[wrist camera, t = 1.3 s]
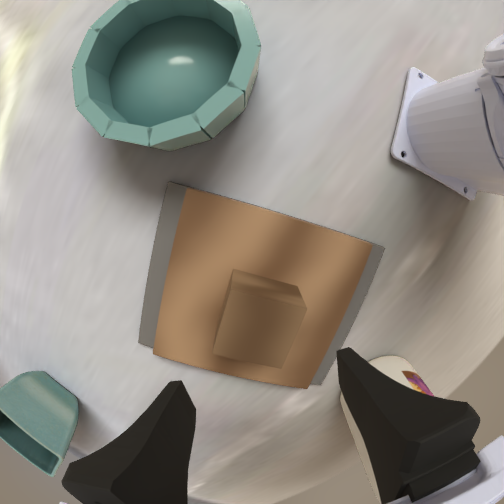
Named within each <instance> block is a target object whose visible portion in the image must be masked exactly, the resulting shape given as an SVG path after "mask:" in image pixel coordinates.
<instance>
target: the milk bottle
mask: <svg viewBox="0 0 504 504" xmlns="http://www.w3.org/2000/svg"><path fill="white" fill-rule="evenodd" d="M368 363H370V364H371V365H372V366H374V367H375V368H376V369H378V370H379V371H381V372H382V373H384V374H385V375H387V376H388V377H390V378H392V379H393V380H395V381H397V382H399V383H401V384H403V385H405V386H407V387H409V388H411V389H414V390H416V391H419V392H422V393H425V394H427V395H431V396H434V395H433V394H432V393H431V391H430V390H429V388H428V387H427V386H426V384H425V383H424V382H423V380H422V379H421V378H420V376H419V375H418V374H417V372H416V371H415V370H414V368H413V367H412V366H411V365H410V363H409V362H408V361H407V360H405V359H403V358H401V357H398V356H392V355H389V356H382V357H378V358H375V359H373V360H370V361H368ZM340 402H341V405H342V408H343V412H344V414H345V417H346V420H347V422H348V425H349V428H350V431H351V433H352V436H353V439H354V442H355V444H356V447H357V450H358V453H359V455H360V458H361V461H362V463H363V466H364V469H365V471H366V474H367V477H368V480H369V482H370V484H371V487H372V489H373V492H374V494H375V496H376V498H377V500H378V502H379V503H380V504H381V499H380V495H379V491H378V487H377V483H376V479H375V476H374V472H373V469H372V465H371V462H370V459H369V455H368V452H367V449H366V446H365V443H364V440H363V438H362V436H361V433H360V431H359V429H358V427H357V425H356V423H355V421H354V419H353V417H352V415H351V412H350V410H349V408H348V406H347V404H346V402H345V400H344V397H343V394H342V391H341V396H340Z"/></svg>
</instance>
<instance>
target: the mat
mask: <svg viewBox="0 0 504 504" xmlns="http://www.w3.org/2000/svg"><path fill="white" fill-rule="evenodd" d="M187 188H192V187H188V186H184V185H180V184H176V183H173V182H168V184H167V188H166V192H165V196H164V200H163V204H162V209H161V213H160V217H159V222H158V226H157V231H156V236H155V241H154V246H153V251H152V256H151V261H150V266H149V272H148V278H147V284H146V290H145V296H144V303H143V309H142V317H141V324H140V332H139V340H138V343H140V344H143V345H146V346H149V347H152V348H154V342H155V336H156V329H157V323H158V317H159V312H160V306H161V301H162V295H163V290H164V285H165V280H166V275H167V270H168V265H169V260H170V256H171V251H172V247H173V242H174V238H175V234H176V229H177V225H178V221H179V217H180V213H181V209H182V205H183V201H184V197H185V193H186V190H187ZM193 189H195V188H193ZM197 190H199V189H197ZM201 191H203V190H201ZM204 192H206V191H204ZM208 193H210V192H208ZM211 194H214V193H211ZM215 195H217V194H215ZM219 196H221V195H219ZM222 197H225V196H222ZM226 198H228V197H226ZM229 199H232V198H229ZM233 200H235V199H233ZM236 201H239V200H236ZM240 202H242V201H240ZM243 203H245V202H243ZM247 204H249V203H247ZM250 205H252V204H250ZM254 206H256V205H254ZM257 207H259V206H257ZM260 208H262V207H260ZM264 209H266V208H264ZM267 210H269V209H267ZM270 211H272V210H270ZM274 212H276V211H274ZM277 213H279V212H277ZM280 214H282V213H280ZM283 215H285V214H283ZM287 216H289V215H287ZM290 217H292V216H290ZM293 218H295V217H293ZM296 219H298V218H296ZM300 220H301V219H300ZM303 221H305V220H303ZM306 222H308V221H306ZM309 223H311V222H309ZM312 224H314V223H312ZM315 225H317V224H315ZM318 226H320V225H318ZM321 227H323V226H321ZM324 228H326V227H324ZM327 229H329V228H327ZM331 230H332V229H331ZM334 231H335V230H334ZM337 232H338V231H337ZM340 233H341V232H340ZM343 234H344V233H343ZM346 235H347V234H346ZM348 236H350V235H348ZM351 237H353V236H351ZM354 238H356V237H354ZM357 239H359V238H357ZM360 240H362V239H360ZM363 241H365V240H363ZM366 242H368V241H366ZM369 243H370V244H372V245H373V247H372V249H371V252H370V255H369V257H368V260H367V262H366V265H365V267H364V270H363V272H362V275H361V277H360V280H359V282H358V285H357V287H356V289H355V292H354V294H353V297H352V299H351V301H350V303H349V306H348V308H347V310H346V312H345V315H344V317H343V319H342V321H341V323H340V325H339V328H338V330H337V332H336V334H335V336H334V338H333V340H332V342H331V344H330V346H329V348H328V350H327V352H326V354H325V356H324V358H323V360H322V362H321V364H320V366H319V368H318V370H317V372H316V374H315V375H314V377H313V379H312V381H311V383H310V384H315V385H321V384H322V382H323V381H324V379H325V377H326V375H327V373H328V372H329V370H330V368H331V366H332V364H333V362H334V360H335V359H336V357H337V352H336V351H338V350H340V349H341V347H342V345H343V343H344V341H345V339H346V337H347V335H348V333H349V331H350V329H351V327H352V325H353V323H354V320H355V318H356V316H357V314H358V312H359V310H360V307H361V305H362V303H363V301H364V298H365V296H366V294H367V292H368V289H369V287H370V285H371V282H372V280H373V277H374V275H375V272H376V270H377V268H378V265H379V262H380V260H381V257H382V255H383V252H384V249H385V248H384V247H382V246H379V245H376V244H373V243H371V242H369Z"/></svg>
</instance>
